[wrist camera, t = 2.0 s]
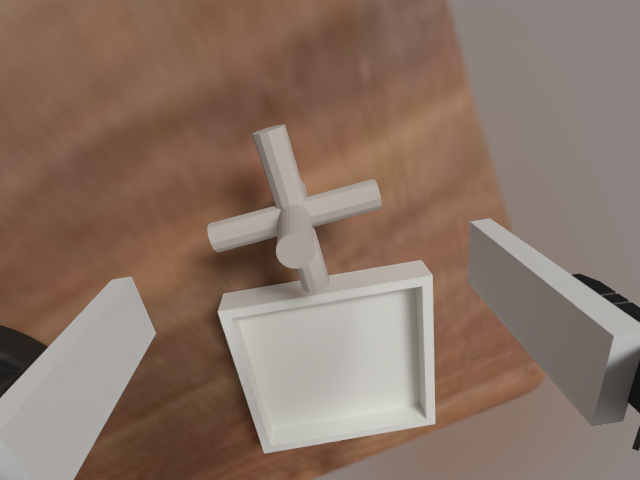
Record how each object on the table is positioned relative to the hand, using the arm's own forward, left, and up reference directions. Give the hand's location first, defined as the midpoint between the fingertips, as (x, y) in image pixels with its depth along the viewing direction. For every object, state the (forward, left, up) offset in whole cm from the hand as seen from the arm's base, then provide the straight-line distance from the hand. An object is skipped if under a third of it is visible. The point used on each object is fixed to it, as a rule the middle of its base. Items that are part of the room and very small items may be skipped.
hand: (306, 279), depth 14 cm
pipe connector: (0, 0, -13) cm, 13 cm away
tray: (+1, -15, -13) cm, 20 cm away
